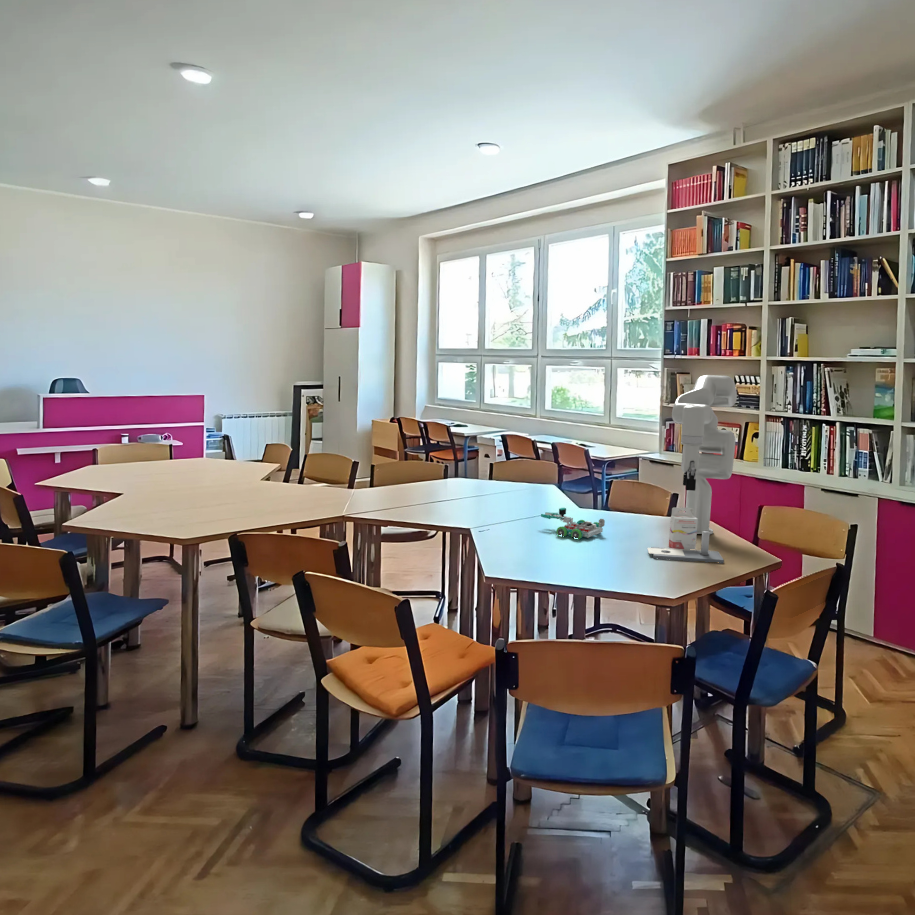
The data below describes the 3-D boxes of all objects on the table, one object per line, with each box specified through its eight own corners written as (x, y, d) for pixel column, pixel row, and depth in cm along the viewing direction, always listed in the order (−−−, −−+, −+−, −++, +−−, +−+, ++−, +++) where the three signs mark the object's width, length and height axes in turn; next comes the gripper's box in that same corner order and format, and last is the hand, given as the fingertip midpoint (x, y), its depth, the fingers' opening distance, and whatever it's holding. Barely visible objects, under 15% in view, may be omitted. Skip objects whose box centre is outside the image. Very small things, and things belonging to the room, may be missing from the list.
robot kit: (552, 524, 309) (553, 502, 307) (608, 534, 294) (609, 511, 293) (528, 532, 294) (529, 508, 293) (586, 542, 279) (587, 518, 278)
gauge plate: (646, 549, 270) (648, 524, 268) (717, 554, 265) (719, 529, 264) (649, 558, 258) (650, 532, 257) (723, 563, 254) (725, 536, 253)
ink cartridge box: (672, 550, 271) (675, 509, 269) (668, 546, 276) (670, 507, 274) (696, 550, 271) (698, 510, 269) (691, 547, 276) (694, 507, 274)
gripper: (678, 437, 276) (675, 483, 278) (683, 442, 259) (680, 491, 261) (699, 438, 274) (696, 484, 277) (706, 443, 257) (702, 492, 260)
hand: (688, 487), depth 269 cm, fingers open, 9 cm apart
